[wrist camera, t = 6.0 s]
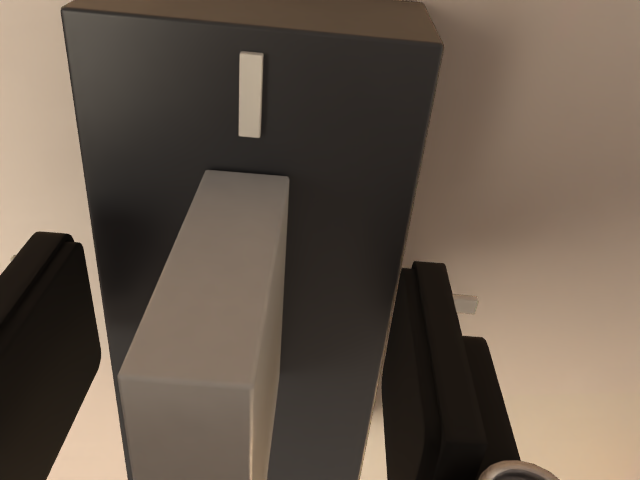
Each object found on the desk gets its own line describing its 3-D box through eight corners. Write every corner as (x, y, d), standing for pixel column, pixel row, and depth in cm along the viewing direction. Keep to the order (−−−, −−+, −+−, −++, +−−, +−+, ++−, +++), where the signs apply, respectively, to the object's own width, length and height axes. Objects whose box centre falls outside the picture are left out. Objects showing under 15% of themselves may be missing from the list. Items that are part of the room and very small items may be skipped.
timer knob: (204, 167, 11) (107, 392, 6) (289, 175, 11) (250, 403, 6) (212, 371, 13) (147, 626, 9) (279, 376, 13) (247, 634, 9)
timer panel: (36, -36, 12) (-52, -1, 9) (505, 9, 12) (549, 57, 9) (104, 392, 18) (63, 484, 16) (406, 418, 19) (416, 514, 16)
